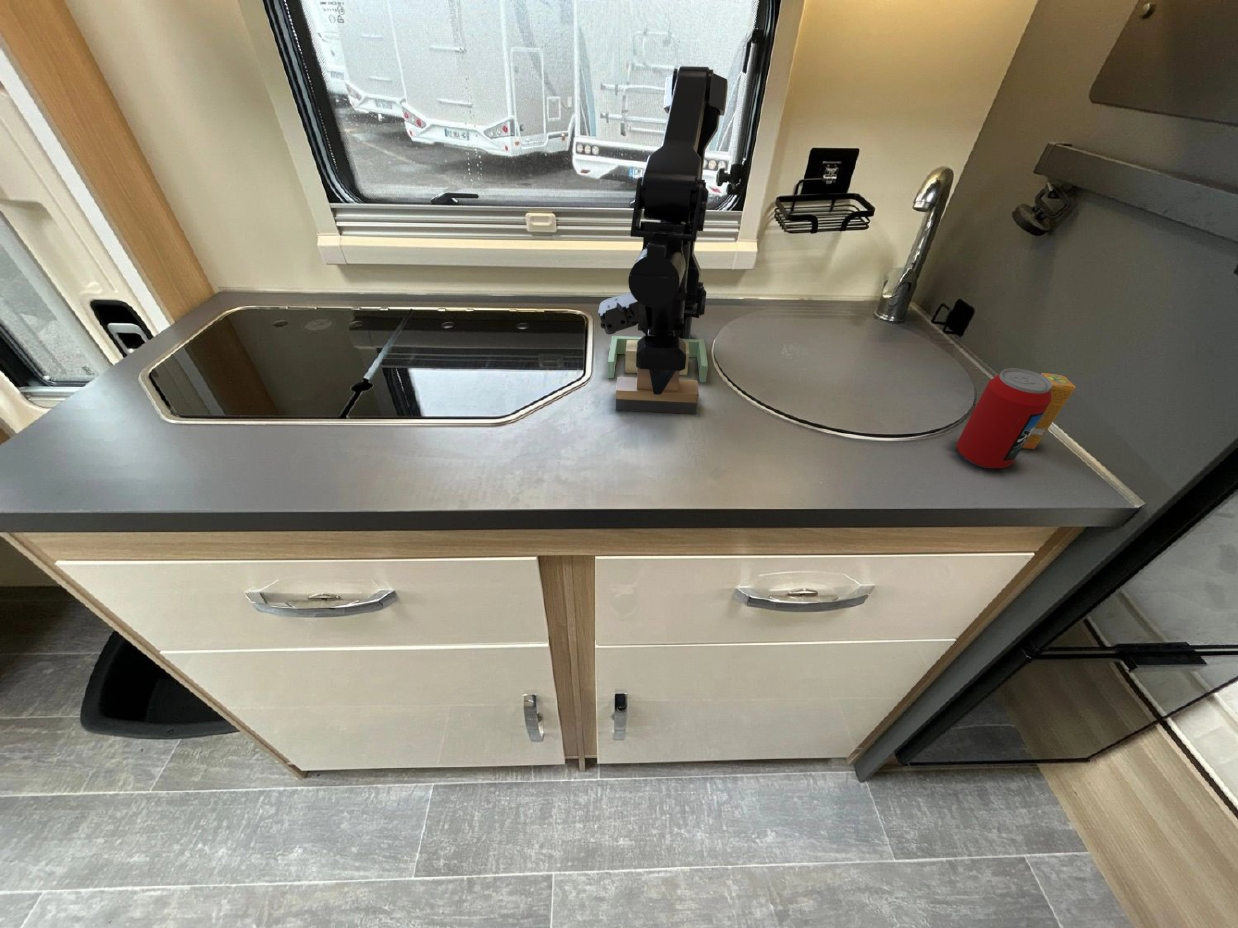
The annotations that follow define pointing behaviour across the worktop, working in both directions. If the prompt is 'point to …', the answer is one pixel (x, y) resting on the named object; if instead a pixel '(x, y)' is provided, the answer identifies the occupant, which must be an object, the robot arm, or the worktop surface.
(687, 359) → the block
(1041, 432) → the supplement box
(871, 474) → the worktop surface
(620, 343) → the corral
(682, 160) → the robot arm
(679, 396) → the brush
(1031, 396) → the beverage can
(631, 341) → the block
